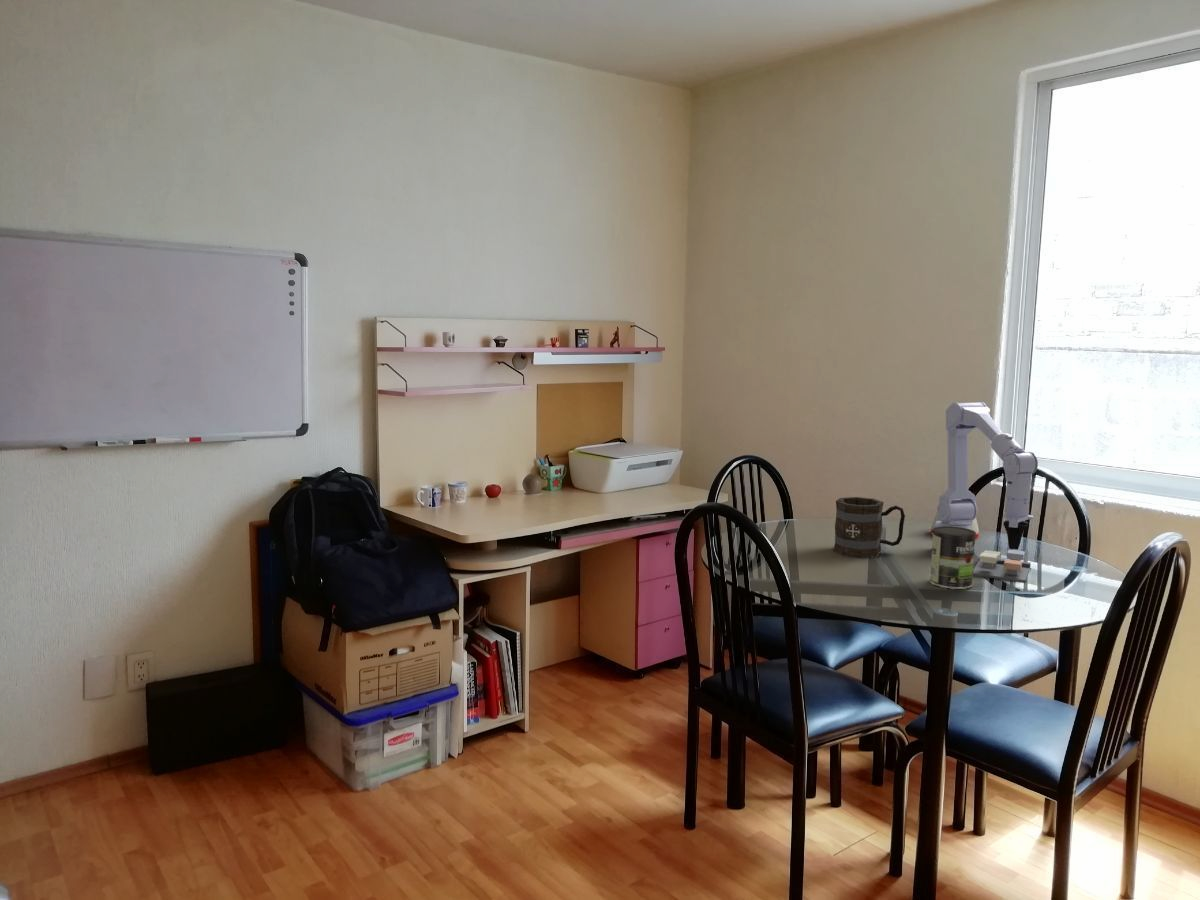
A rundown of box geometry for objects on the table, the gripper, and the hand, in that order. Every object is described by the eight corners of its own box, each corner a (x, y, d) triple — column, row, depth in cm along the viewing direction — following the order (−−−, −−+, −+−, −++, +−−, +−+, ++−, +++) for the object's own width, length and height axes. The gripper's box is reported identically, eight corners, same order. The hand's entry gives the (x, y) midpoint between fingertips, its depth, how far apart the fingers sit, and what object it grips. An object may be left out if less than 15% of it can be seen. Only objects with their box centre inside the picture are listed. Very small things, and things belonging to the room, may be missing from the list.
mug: (836, 557, 258) (838, 505, 256) (830, 545, 271) (832, 496, 269) (907, 559, 255) (910, 507, 253) (898, 547, 269) (900, 498, 266)
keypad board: (971, 575, 240) (971, 569, 240) (979, 561, 253) (979, 556, 253) (1025, 582, 234) (1025, 576, 234) (1030, 568, 247) (1030, 562, 246)
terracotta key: (1003, 574, 238) (1004, 562, 238) (1004, 570, 242) (1005, 559, 241) (1019, 576, 236) (1020, 564, 236) (1021, 572, 240) (1022, 561, 239)
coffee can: (981, 586, 230) (985, 532, 228) (952, 592, 226) (956, 537, 223) (949, 576, 239) (952, 524, 237) (920, 581, 235) (923, 528, 233)
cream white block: (982, 564, 247) (983, 553, 247) (984, 561, 251) (984, 550, 250) (998, 566, 245) (998, 555, 245) (999, 563, 249) (1000, 552, 248)
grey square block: (1006, 564, 244) (1007, 552, 244) (1007, 560, 247) (1008, 549, 247) (1022, 566, 242) (1023, 554, 242) (1024, 562, 245) (1024, 551, 245)
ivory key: (979, 567, 241) (979, 555, 240) (981, 563, 244) (981, 552, 244) (995, 569, 239) (996, 557, 238) (997, 565, 242) (997, 554, 242)
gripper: (1032, 504, 228) (1028, 557, 230) (1036, 494, 240) (1032, 544, 242) (1001, 501, 231) (998, 553, 233) (1007, 492, 244) (1004, 541, 246)
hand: (1013, 548), depth 238 cm, fingers closed
